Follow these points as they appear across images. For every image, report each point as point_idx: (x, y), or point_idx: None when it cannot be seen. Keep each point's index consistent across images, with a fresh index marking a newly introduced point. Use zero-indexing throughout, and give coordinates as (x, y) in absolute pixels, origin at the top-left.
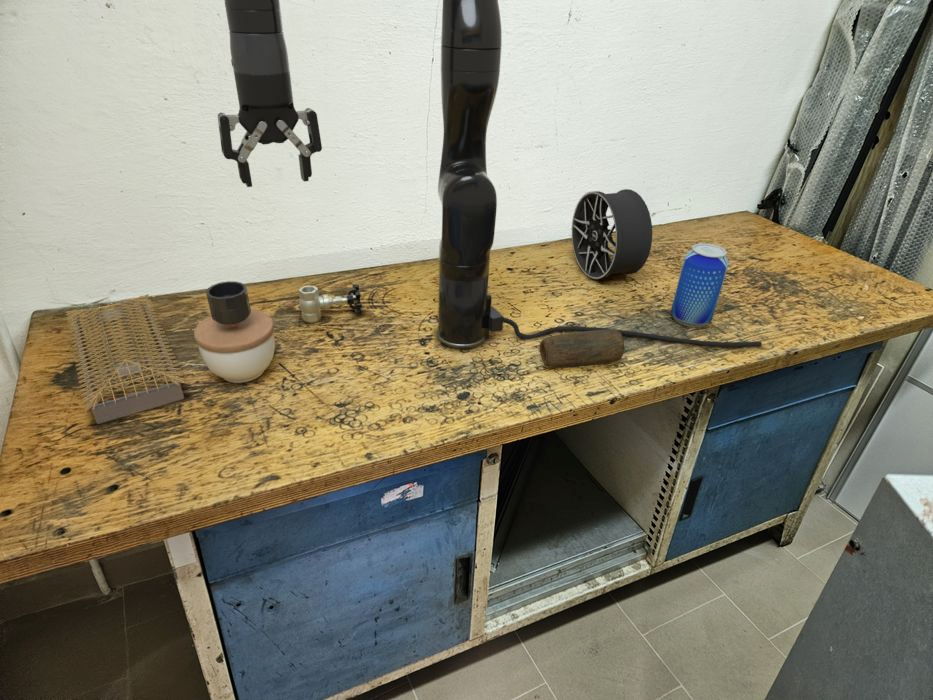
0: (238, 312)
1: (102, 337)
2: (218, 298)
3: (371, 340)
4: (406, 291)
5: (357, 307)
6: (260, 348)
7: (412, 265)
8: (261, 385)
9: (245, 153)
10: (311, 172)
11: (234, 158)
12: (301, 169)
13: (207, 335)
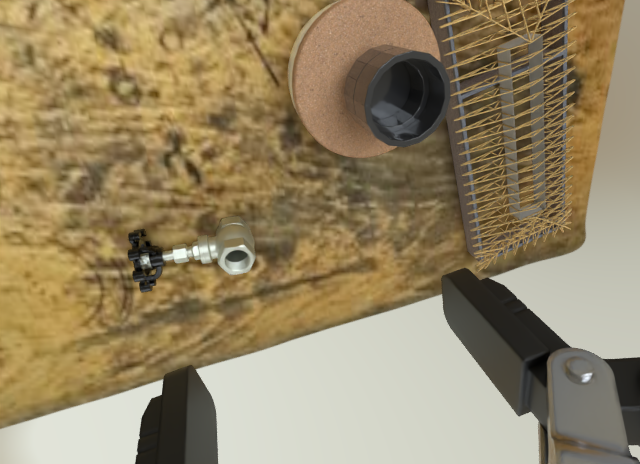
0: (373, 54)
1: (547, 136)
2: (427, 54)
3: (103, 146)
4: (56, 316)
5: (138, 231)
6: (314, 19)
7: (59, 400)
8: (305, 12)
9: (582, 407)
10: (143, 423)
11: (616, 366)
12: (203, 433)
13: (419, 50)
